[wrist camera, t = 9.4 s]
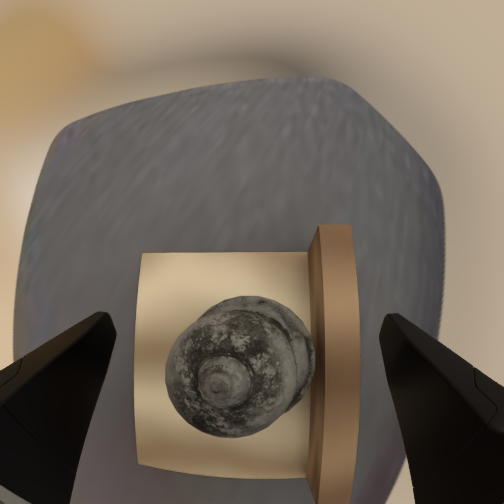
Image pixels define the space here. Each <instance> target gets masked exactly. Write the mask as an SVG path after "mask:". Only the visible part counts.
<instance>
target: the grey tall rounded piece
mask: <svg viewBox="0 0 504 504" xmlns="http://www.w3.org/2000/svg"><path fill="white" fill-rule="evenodd" d="M314 371H315V349H314V345H313V342H312V338H311V335H310V333H309V331H308V330H307V328H306V326H305V325H304V323H303V321H302V320H301V319H300V318H299V317H298V316H297V315H296V314H295V313H294V312H293V311H292V310H291V309H289V308H288V307H286V306H284V305H282V304H280V303H279V302H277V301H275V300H272V299H268V298H264V297H260V296H238V297H234V298H230V299H226V300H223V301H221V302H220V303H218V304H216V305H214V306H212V307H210V308H209V309H208V310H207V311H206V312H205V313H204V314H203V315H201V316H200V317H199V318H198V319H197V321H196V322H194V323H192V324H191V325H190V326H189V327H188V328H187V329H186V330H184V331H183V332H182V333H181V334H180V335H179V336H178V338H177V340H176V341H175V343H174V344H173V346H172V348H171V349H170V352H169V355H168V358H167V362H166V365H165V383H166V388H167V392H168V396H169V398H170V400H171V402H172V404H173V406H174V408H175V409H176V411H177V412H178V413H179V414H180V416H181V417H182V418H183V419H184V420H185V421H186V422H187V423H188V424H190V425H191V426H193V427H195V428H196V429H198V430H199V431H201V432H203V433H206V434H209V435H212V436H216V437H221V438H240V437H245V436H249V435H253V434H255V433H257V432H259V431H261V430H264V429H266V428H268V427H269V426H270V425H271V424H272V423H273V422H275V421H276V420H277V419H278V418H279V417H280V416H281V415H282V414H284V413H286V412H288V411H289V410H290V409H292V408H293V407H294V406H295V405H296V404H297V403H298V402H299V401H300V400H301V399H302V398H303V396H304V394H305V393H306V391H307V389H308V388H309V386H310V384H311V381H312V378H313V374H314Z"/></svg>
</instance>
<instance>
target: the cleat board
mask: <svg viewBox="0 0 504 504" xmlns="http://www.w3.org/2000/svg"><path fill="white" fill-rule="evenodd" d="M238 296H260V297H264V298H268V299H272V300H275V301H277V302H279V303H280V304H282V305H284V306H286V307H288V308H289V309H291V310H292V311H293V312H294V313H295V314H296V315H297V316H298V317H299V318H300V319H301V320H302V321H303V323H304V325H305V326H306V328H307V330H308V331H309V333H310V335H311V338H312V342H313V345H314V349H315V371H314V374H313V378H312V381H311V384H310V386H309V388H308V389H307V391H306V393H305V394H304V396H303V398H302V399H301V400H300V401H299V402H298V403H297V404H296V405H295V406H294V407H293V408H292V409H290V410H289V411H288V412H286V413H284V414H282V415H281V416H280V417H279V418H278V419H277V420H276V421H275V422H273V423H272V424H271V425H270V426H269V427H268V428H266V429H264V430H261V431H259V432H257V433H255V434H253V435H249V436H245V437H240V438H221V437H216V436H212V435H209V434H206V433H203V432H201V431H199V430H198V429H196V428H195V427H193V426H191V425H190V424H188V423H187V422H186V421H185V420H184V419H183V418H182V417H181V416H180V414H179V413H178V412H177V411H176V409H175V408H174V406H173V404H172V402H171V400H170V398H169V396H168V392H167V388H166V383H165V365H166V362H167V358H168V355H169V352H170V349H171V348H172V346H173V344H174V343H175V341H176V340H177V338H178V336H179V335H180V334H181V333H182V332H183V331H184V330H186V329H187V328H188V327H189V326H190V325H191V324H192V323H194V322H196V321H197V319H198V318H199V317H200V316H201V315H203V314H204V313H205V312H206V311H207V310H208V309H209V308H210V307H212V306H214V305H216V304H218V303H220V302H221V301H223V300H226V299H230V298H234V297H238ZM360 372H361V360H360V321H359V302H358V288H357V275H356V264H355V254H354V245H353V237H352V229H351V225H330V224H319V226H318V228H317V231H316V233H315V235H314V238H313V240H312V243H311V245H310V248H309V250H308V252H230V253H142V260H141V269H140V278H139V288H138V299H137V312H136V328H135V351H134V409H135V431H136V446H137V457H138V464H142V465H146V466H150V467H155V468H160V469H165V470H171V471H176V472H183V473H189V474H197V475H205V476H215V477H227V478H246V479H284V478H303V477H307V479H308V482H309V485H310V488H311V491H312V494H313V497H314V500H315V503H316V504H350V500H351V494H352V487H353V480H354V472H355V463H356V453H357V442H358V428H359V411H360Z"/></svg>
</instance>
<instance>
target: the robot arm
mask: <svg viewBox="0 0 504 504" xmlns="http://www.w3.org/2000/svg"><path fill="white" fill-rule="evenodd" d="M116 336H117V333H116V329H115V326H114V324H113V321H112V318H111V316H110V314H109V313H107V312H100V311H99V312H96V313H94V314H93V315H91V316H89V317H88V318H86V319H84V320H83V321H81V322H79V323H78V324H76V325H74V326H73V327H71V328H69V329H68V330H66V331H64V332H63V333H61V334H59V335H58V336H56V337H54V338H53V339H51V340H49V341H48V342H46V343H45V344H43V345H41V346H40V347H38V348H36V349H35V350H33V351H32V352H30V353H28V354H27V355H25V356H24V357H23V358H20V359H19V360H17V361H16V362H14V363H12V364H11V365H9V366H7V367H6V368H4V369H3V370H0V504H70V499H71V494H72V490H73V485H74V481H75V477H76V472H77V468H78V464H79V460H80V456H81V453H82V449H83V445H84V442H85V438H86V435H87V432H88V428H89V425H90V422H91V419H92V415H93V412H94V409H95V406H96V403H97V400H98V397H99V394H100V391H101V388H102V386H103V383H104V380H105V377H106V374H107V371H108V367H109V363H110V359H111V355H112V351H113V348H114V344H115V340H116ZM379 341H380V346H381V351H382V356H383V361H384V366H385V372H386V377H387V381H388V385H389V388H390V392H391V395H392V399H393V403H394V406H395V410H396V414H397V417H398V421H399V425H400V429H401V433H402V438H403V442H404V446H405V451H406V455H407V460H408V464H409V469H410V474H411V480H412V485H413V487H414V488H413V492H414V499H415V504H504V387H503V386H501V385H500V384H498V383H497V382H495V381H493V380H492V379H491V378H489V377H488V376H486V375H485V374H484V373H482V372H481V371H479V370H478V369H477V368H475V367H474V368H473V366H472V365H471V364H470V363H468V362H467V361H466V360H464V359H463V358H461V357H460V356H459V355H457V354H456V353H454V352H453V351H451V350H450V349H449V348H447V347H446V346H445V345H443V344H442V343H440V342H439V341H437V340H436V339H435V338H433V337H432V336H430V335H429V334H427V333H426V332H424V331H423V330H422V329H420V328H419V327H417V326H416V325H414V324H413V323H411V322H410V321H408V320H407V319H406V318H404V317H403V316H401V315H400V314H398V313H393V314H387V315H386V316H385V317H384V321H383V324H382V327H381V330H380V334H379Z"/></svg>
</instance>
